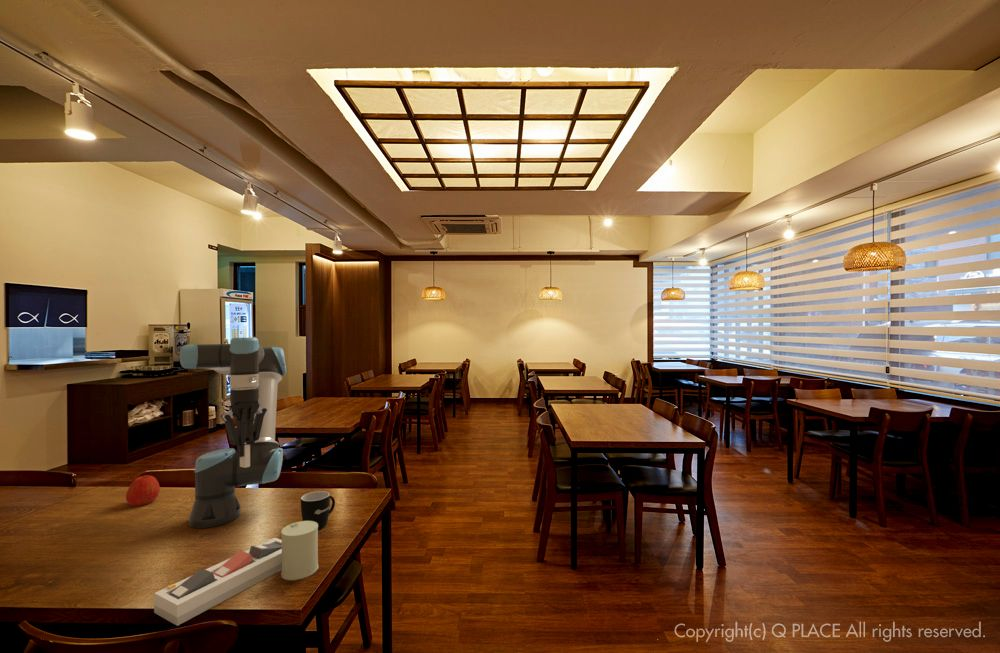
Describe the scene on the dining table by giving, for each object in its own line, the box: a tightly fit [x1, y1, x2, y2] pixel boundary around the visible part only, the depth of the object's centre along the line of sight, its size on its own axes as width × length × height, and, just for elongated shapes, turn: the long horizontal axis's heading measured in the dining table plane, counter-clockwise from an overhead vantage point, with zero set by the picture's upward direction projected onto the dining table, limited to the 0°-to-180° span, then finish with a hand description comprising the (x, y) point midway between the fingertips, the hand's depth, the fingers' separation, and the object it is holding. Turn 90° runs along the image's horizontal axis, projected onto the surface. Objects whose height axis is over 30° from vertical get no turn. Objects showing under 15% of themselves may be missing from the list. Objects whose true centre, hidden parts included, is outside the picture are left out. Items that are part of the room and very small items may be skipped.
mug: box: [300, 490, 336, 530], centre depth 144 cm, size 12×9×10 cm
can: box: [280, 520, 319, 581], centre depth 116 cm, size 9×9×12 cm
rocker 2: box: [249, 543, 282, 557], centre depth 118 cm, size 8×5×2 cm, turn 152°
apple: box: [125, 474, 161, 507], centre depth 165 cm, size 10×10×10 cm
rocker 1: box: [169, 568, 215, 599], centre depth 102 cm, size 8×5×2 cm, turn 153°
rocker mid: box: [213, 550, 253, 578], centre depth 110 cm, size 8×5×2 cm, turn 153°
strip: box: [153, 537, 282, 627], centre depth 113 cm, size 38×10×5 cm, turn 152°
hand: (244, 466), depth 129 cm, fingers closed
